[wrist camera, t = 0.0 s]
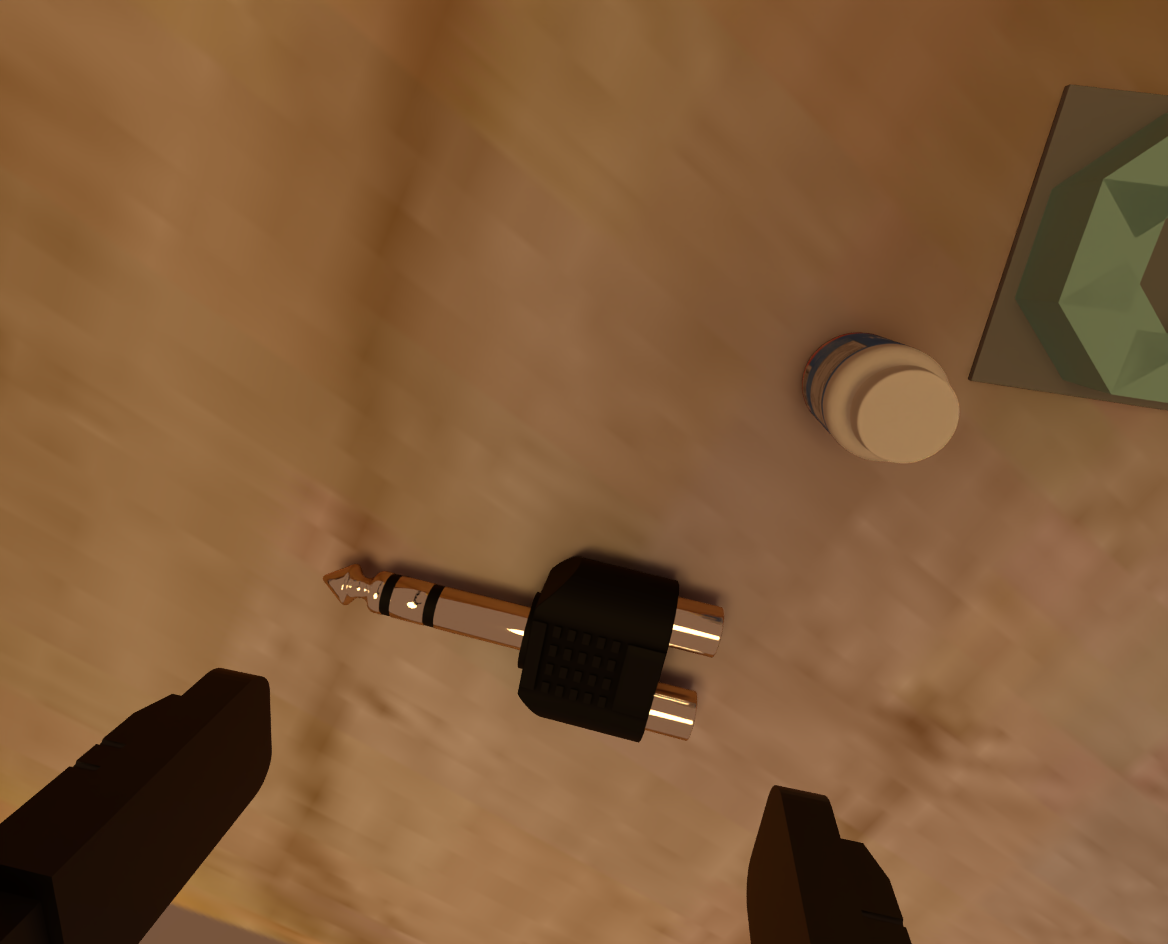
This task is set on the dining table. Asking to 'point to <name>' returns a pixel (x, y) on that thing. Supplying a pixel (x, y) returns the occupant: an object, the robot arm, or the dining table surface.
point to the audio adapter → (570, 639)
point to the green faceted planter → (1103, 270)
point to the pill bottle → (880, 398)
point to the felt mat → (1074, 142)
